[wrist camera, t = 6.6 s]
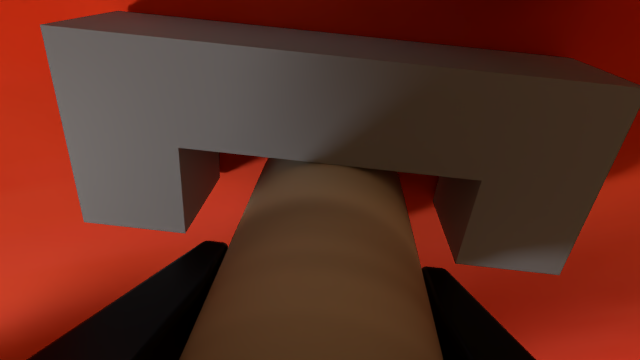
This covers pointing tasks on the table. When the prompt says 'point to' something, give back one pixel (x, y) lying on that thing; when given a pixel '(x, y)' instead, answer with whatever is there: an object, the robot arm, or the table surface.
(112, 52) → the block
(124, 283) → the table surface
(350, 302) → the dowel
